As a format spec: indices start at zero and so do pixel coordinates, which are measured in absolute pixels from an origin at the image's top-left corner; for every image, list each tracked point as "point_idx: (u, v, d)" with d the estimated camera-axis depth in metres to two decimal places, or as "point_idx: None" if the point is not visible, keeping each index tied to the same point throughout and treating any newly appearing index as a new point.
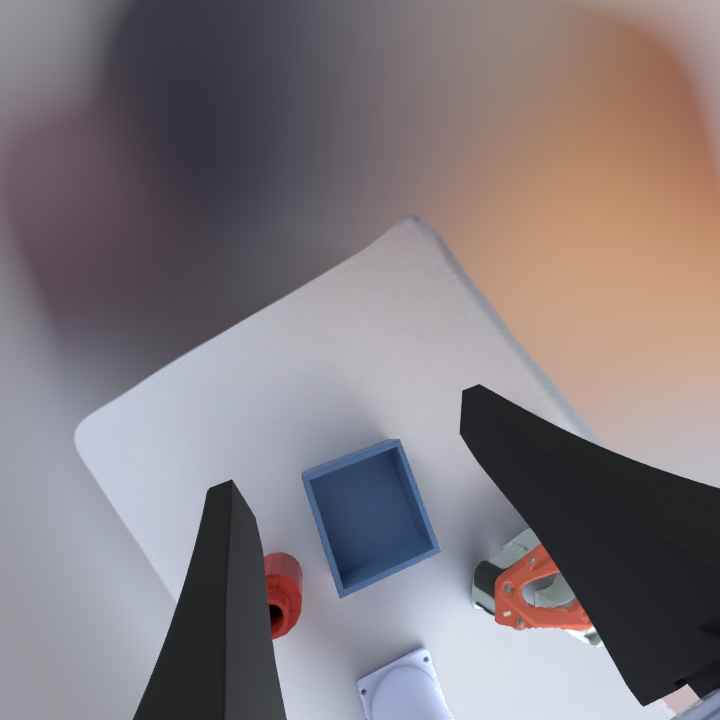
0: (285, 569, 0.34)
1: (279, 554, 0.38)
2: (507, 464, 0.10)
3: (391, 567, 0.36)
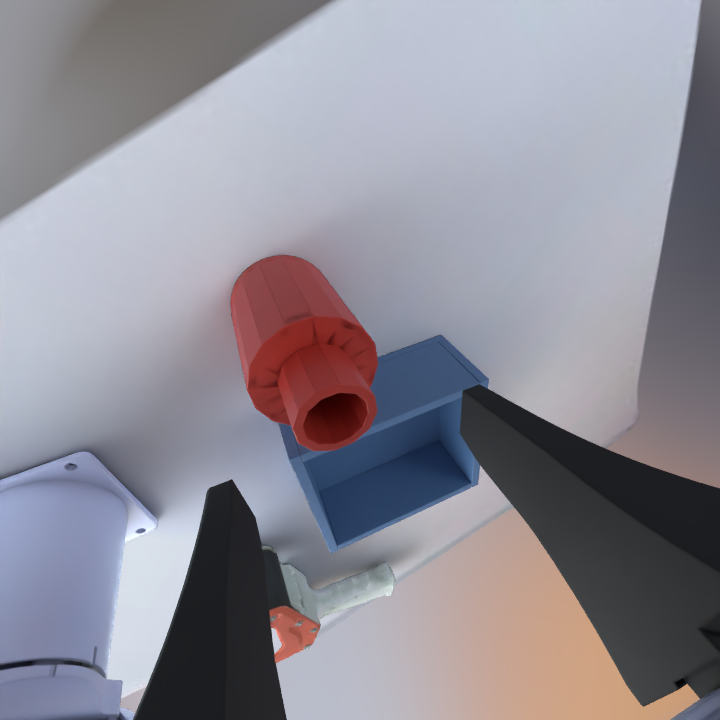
0: None
1: None
2: (507, 464, 0.10)
3: None
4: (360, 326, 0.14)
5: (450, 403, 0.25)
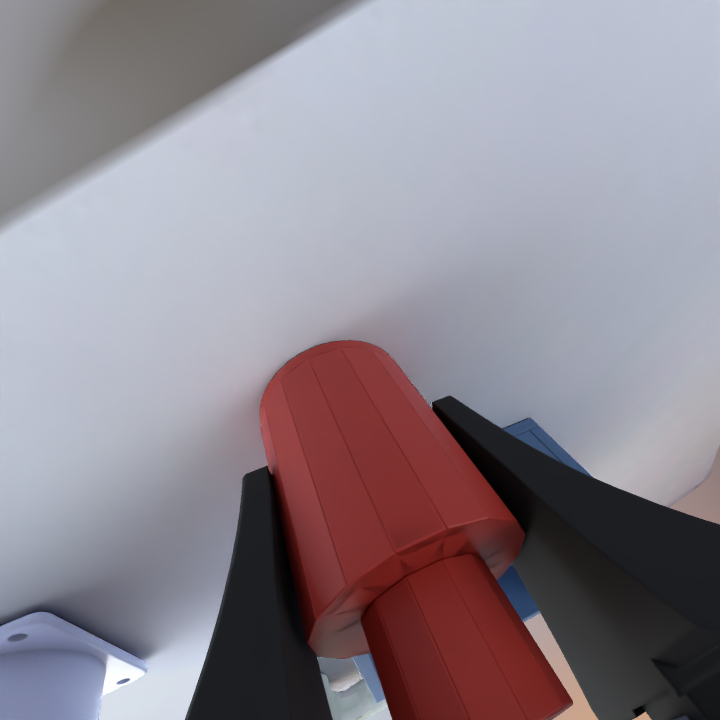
0: None
1: None
2: None
3: (375, 671, 0.16)
4: (513, 519, 0.07)
5: None
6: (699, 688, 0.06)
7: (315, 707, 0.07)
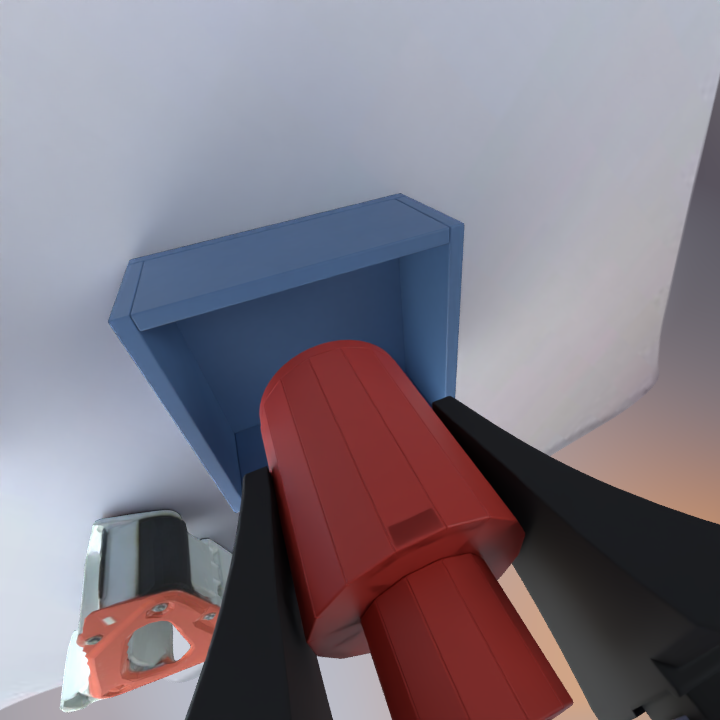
0: None
1: None
2: None
3: (203, 436, 0.14)
4: (513, 518, 0.07)
5: (414, 300, 0.18)
6: (699, 688, 0.06)
7: (315, 707, 0.07)
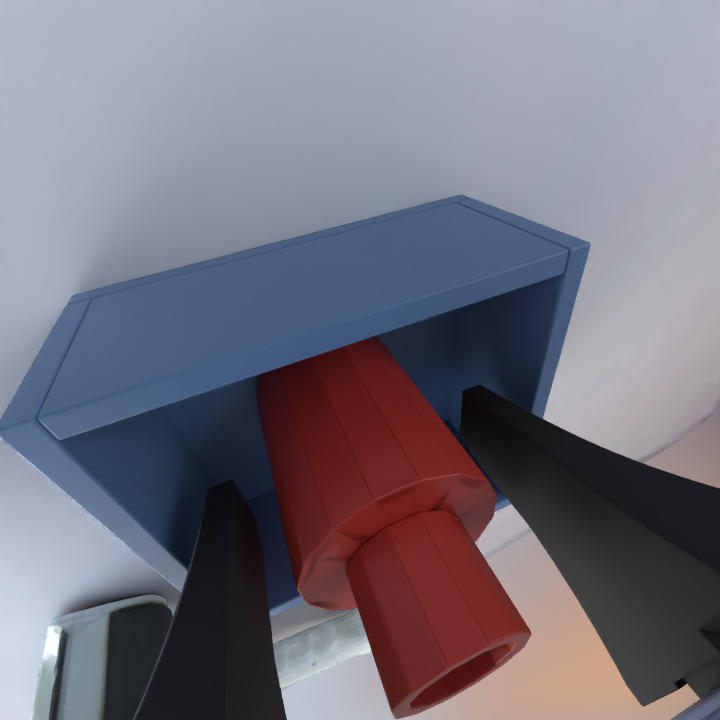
0: None
1: None
2: (507, 464, 0.10)
3: (182, 560, 0.09)
4: (484, 478, 0.08)
5: (475, 341, 0.13)
6: None
7: None
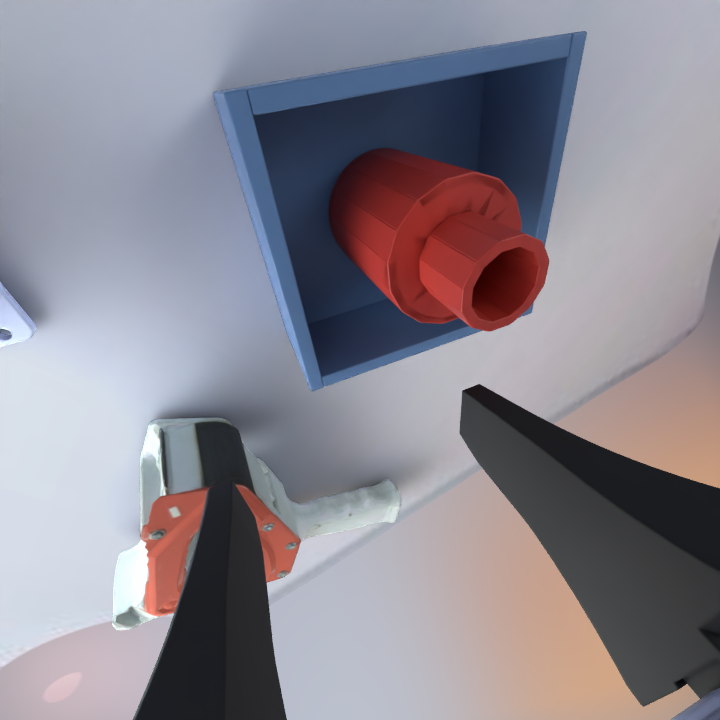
0: None
1: None
2: (507, 464, 0.10)
3: (295, 280, 0.13)
4: (514, 196, 0.12)
5: (498, 169, 0.17)
6: None
7: None
